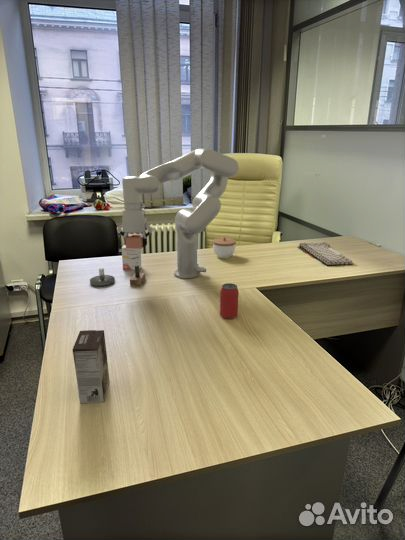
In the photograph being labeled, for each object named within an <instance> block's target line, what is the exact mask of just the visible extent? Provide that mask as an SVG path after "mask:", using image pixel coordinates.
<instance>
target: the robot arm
mask: <svg viewBox="0 0 405 540" xmlns="http://www.w3.org/2000/svg"><path fill="white" fill-rule="evenodd" d="M202 169H203V170H207V171H209V172H210V179H209V180H208V182H207V184H206V185H205V186H204V187H203V188H202V189H201V190H200V191H199V192H198V193H197V194H196V195H195V196H194V198H193V200H192V204H191V205H192V207H193V209H194V210H192V209H188V208H183V209H182V208H181V209H180V210H178V212H177V213H176V215H175V218H174V225H175V230H176V249H177V250H176V253H177V254H176V256H177V257H176V258H177V261H176V262H177V263H176V264H177V265H176V266H177V269H176V270H174V276H175V277H177V278H179V279H185V280H186V279H187V280H188V279H195V278H198V277H199V276H201V273H207V268H206V267H204V266H199V265H200V264H199V263H198V234H200V233H202V232H203V231H204V230H205V229H206V228H207V227H208V226H209V224H211V223H212V221H213V220H214V219H215V218H216V217H217V216H218V215H219V213H220V211H221V207H222V203H221V200H220V198H221V197H222V195H224V193H225V192H226V189H227V185H228V179H229V178H234V177H235V176H236V175H238V172H239V170H240V166H239V163H238V161H237V160H236V159H235V158H233V157H230V156H228V155H226V154H223V153H221V152H219V151H216V150H214V149H210V148H207V147H205V148H204V147H199V148H196V149H193V150H191V151H190V152H188V153H187V152H186V153H185V154H183V155H181V156H180V157H176V158H175V159H173V160H171V161H168V162H166V163H163V164H161V165H157V166H156V167H153V168H150V169H149V170H147V171H144V172H143V173H142V174H139V176H135V175H128V176H124V177H123V178H122V181H121V183H122V195H123V207H124V208H123V210H122V217H121V219H122V221H121V224H120V225H119V226H118V227H117V228H116V231H117V232H118V233H119V235H120V236H121V237H123V242H124V241H125V238H126V237H127V236H128V235H130V234H142V236H143V248H146V246H147V245H148V237H149V236H150V235H151V234H152V232H153V231H154V228H153V227H152V226H151V225H149V224H148V221H147V214H146V210H145V207H146V203H143V198H142V194H143V195H144V194H149V195H153V194H157V193H158V192H159V190H160V189H161V187H162V186H161V185H162V184H163V183H165V182H169V181H178V180H181V179H182V180H183V179H184V178H186V177H187V176H190V175H191V174H194V173H196V172H197V171H200V170H202ZM147 230H148V231H147ZM146 231H147V232H146ZM124 245H126V241H125V244H124Z"/></svg>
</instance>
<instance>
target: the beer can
mask: <svg viewBox="0 0 405 540" xmlns="http://www.w3.org/2000/svg"><path fill="white" fill-rule="evenodd" d="M220 289H221V290H220V294H219V295H220V300H219V302H220V304H219V315H220V316H221V318H222V319H223V318H224V319H228V320H233V319H235V318H237V317H238V312H239V311H238V309H239V289H238V285H237V284H235V283H232V282H231V283H229V282H227V283H224V284H222V286H221V288H220Z"/></svg>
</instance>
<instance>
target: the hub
mask: <svg viewBox="0 0 405 540" xmlns="http://www.w3.org/2000/svg"><path fill="white" fill-rule="evenodd" d="M115 282H116V279H115V276H113V275H111V274H105V268H103V267H100V268H99V269H98V275H95V276H92V277H91V278H90V279H89V284H90V285H91V287H95V288H105V287H109V286H112V285H115Z"/></svg>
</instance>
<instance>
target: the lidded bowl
mask: <svg viewBox="0 0 405 540" xmlns="http://www.w3.org/2000/svg"><path fill="white" fill-rule="evenodd" d="M236 244H237V240H235V239H234V238H230V237H225V236H224V237H219V238H217V237H216V238H214V239H213V240H212V245H213V246H212V247H213V252H214V254H215V255H216V256H217V258H219V259H230V258H231V257H232V256H233V254H235V252H236V246H237V245H236Z"/></svg>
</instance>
